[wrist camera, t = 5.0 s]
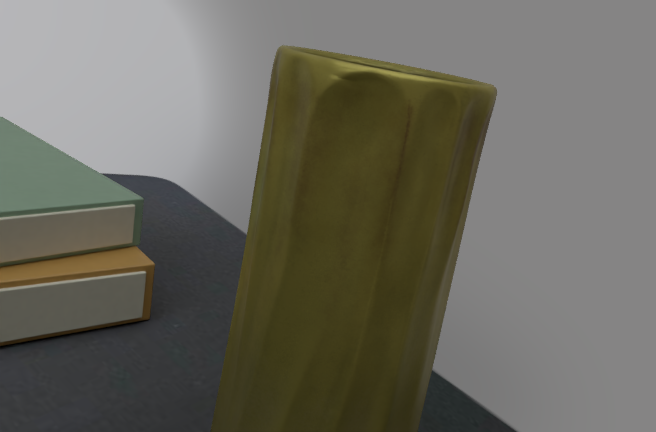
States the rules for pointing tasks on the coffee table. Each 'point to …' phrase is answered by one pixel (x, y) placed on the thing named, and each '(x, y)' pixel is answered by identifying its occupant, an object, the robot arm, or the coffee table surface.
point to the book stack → (65, 244)
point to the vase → (350, 244)
